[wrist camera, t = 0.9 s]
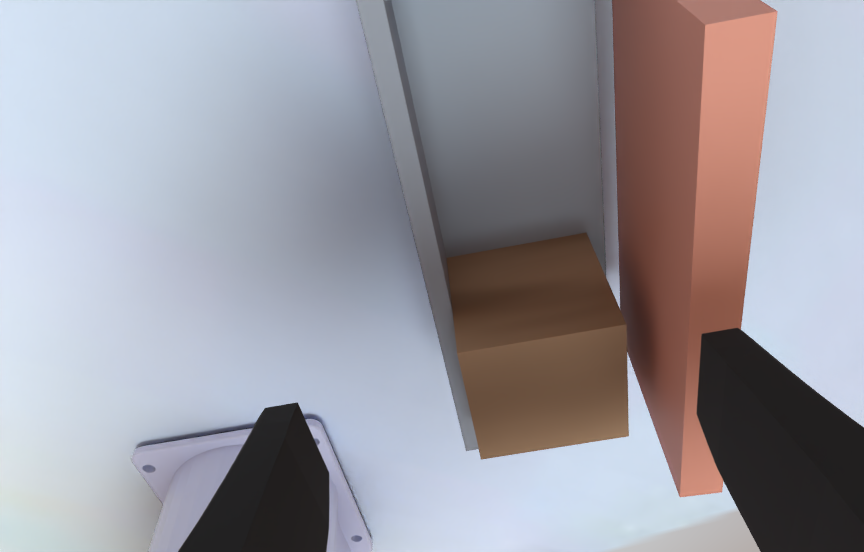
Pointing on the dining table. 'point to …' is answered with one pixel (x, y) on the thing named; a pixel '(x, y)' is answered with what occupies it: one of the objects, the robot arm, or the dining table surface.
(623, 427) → the block
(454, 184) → the grey boxy piece
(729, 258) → the thick rectangular slab
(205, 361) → the dining table surface
